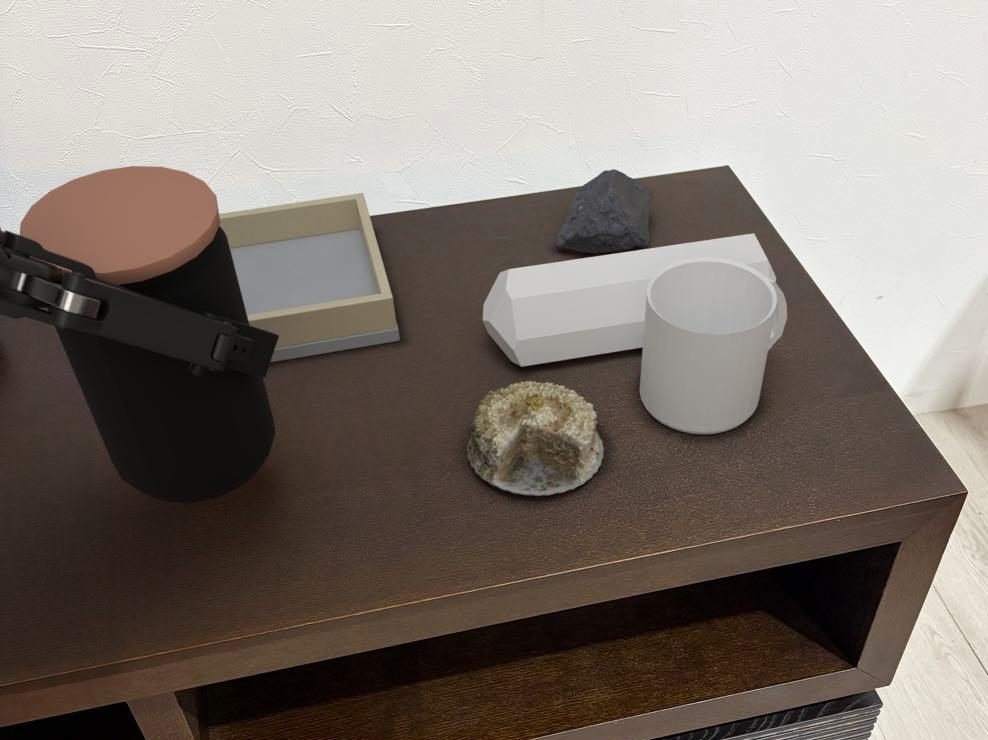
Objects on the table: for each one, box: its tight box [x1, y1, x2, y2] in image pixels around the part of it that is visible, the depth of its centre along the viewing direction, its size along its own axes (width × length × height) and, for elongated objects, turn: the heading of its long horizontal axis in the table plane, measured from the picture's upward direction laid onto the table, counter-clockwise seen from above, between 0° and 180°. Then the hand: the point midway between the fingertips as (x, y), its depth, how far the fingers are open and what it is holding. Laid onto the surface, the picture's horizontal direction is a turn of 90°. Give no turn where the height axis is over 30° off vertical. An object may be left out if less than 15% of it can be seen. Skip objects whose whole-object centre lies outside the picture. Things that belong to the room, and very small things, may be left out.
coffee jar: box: [19, 165, 277, 504], centre depth 67 cm, size 11×11×18 cm
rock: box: [556, 168, 654, 255], centre depth 96 cm, size 9×6×10 cm
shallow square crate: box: [219, 192, 401, 363], centre depth 91 cm, size 16×16×4 cm
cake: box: [465, 380, 605, 497], centre depth 78 cm, size 10×10×5 cm
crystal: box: [482, 232, 777, 368], centre depth 87 cm, size 7×7×24 cm
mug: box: [638, 257, 788, 435], centre depth 80 cm, size 12×9×9 cm
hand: (196, 325), depth 69 cm, fingers closed on coffee jar, 11 cm apart
